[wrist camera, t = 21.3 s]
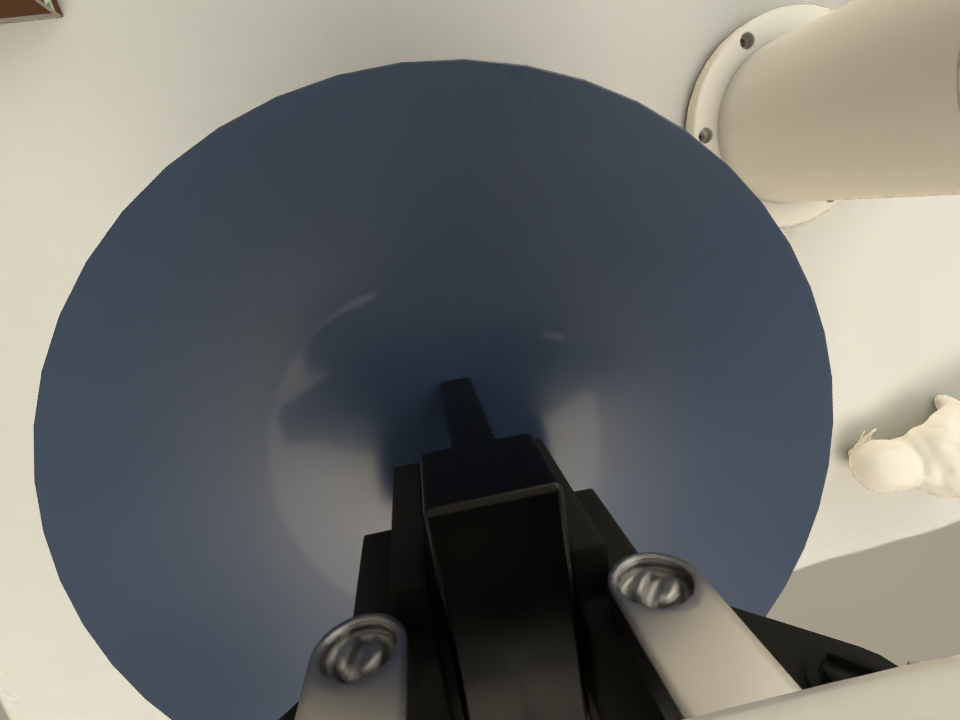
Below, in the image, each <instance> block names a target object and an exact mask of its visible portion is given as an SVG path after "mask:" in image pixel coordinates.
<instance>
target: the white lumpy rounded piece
mask: <svg viewBox="0 0 960 720" xmlns="http://www.w3.org/2000/svg"><path fill="white" fill-rule="evenodd" d="M934 404H935V406H936V408H937V409H938V410H937V411H936V412H934V413H933V414H932V415H931V416H930V417H929V418H928V419H927V420H926V422H924V423H923V424H922V425H919V426H916V427H913V428H912V429H910V430H909V431H908V432H907V433H906V434H905V435H904V436H901V437H897V438H894V439H891V440H886V439H884V440H872V439H871V440H869V439H870V437H871V436H872V435H871V434H873V433H874V432H875V431H876V430H877V429H876V428H875V429H874V430H873V431H871V432H870V433H868V434H867V435H866V436H864V437H863V435H864V433H865V430H866V429H865V430H864V432H863V433H862V435H861V436H860V438H859V440H858V443H857V444H856V445H855V446H854V447H853V448H852V449H850V450H849V451H848V456H849V469H850V471H851V474H852V476H853V477H854V478H855V479H856V480H857V481H858V482H859V483H860V484H862V485H863V486H864V487H866V488H868V489H870V490H872V491H875V492H880V493H891V492H899V491H903V490H908V489H912V488H916V489H919V490H922V491H924V492H927V493H929V494H931V495H933V496H936V497H940V498H955V497H959V498H960V401H959V400H957V399H954V398H953V397H950V396H948V395H937V396H936V397H935V398H934ZM879 433H880V432H879ZM870 435H871V436H870ZM876 435H877V434H876ZM862 437H863V438H862ZM871 438H872V437H871ZM875 438H876V437H875Z"/></svg>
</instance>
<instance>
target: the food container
mask: <svg viewBox="0 0 960 720" xmlns="http://www.w3.org/2000/svg"><path fill="white" fill-rule="evenodd" d="M59 17H63V15H62V13H61V10H60V8H59V5H58V3H57V0H0V24H3V23H13V22H22V21H31V20H41V19H50V18H59Z"/></svg>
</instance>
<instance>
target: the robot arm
mask: <svg viewBox="0 0 960 720" xmlns="http://www.w3.org/2000/svg"><path fill="white" fill-rule="evenodd" d="M740 43H741V45H740ZM686 131H687V132H689V133H690V134H691V135H692V136H694V137H695V138H696V139H697V140H698V141H700V142H701V143H702V144H703V145H705V146H706V147H707V148H708V149H709V150H711V151H712V152H713V153H714V154H715V155H717V156H718V157H719V158H720V159H722V160H723V161H724V162H725V163H726V164H728V165H729V166H730V168H731V169H732V170H733V171H734V172H735V173H736V174H737V175H738V176H739V177H740V179H741V180H742V181H743V182H744V183H745V184H746V185H747V186H748V187H749V189H750V190H751V191H752V192H753V193H754V194H755V195H756V196H757V197H758V199H759V200H760V201H761V202H762V203H763V204H764V206H765V207H766V209H767V210H768V212H769V213H770V215H771V216H772V218H773V219H774V221H775V222H776V224H777V225H778V227H779V228H783V227H789V226H794V225H799V224H802V223H804V222H807V221H809V220H812V219H814V218H816V217H818V216H820V215H821V214H823V213H824V212H826V211H828V210H829V209H831V208H832V207H833V206H835V205H836V204H837V203H838V202H839V201H840V200H849V199H871V198H894V197H916V196H939V195H960V0H853V1H851V2H849V3H847V4H845V5H843V6H841V7H839V8H836V9H834V10H830V9H828V8H823V7H819V6H814V5H788V6H785V7H781V8H777V9H773V10H770V11H768V12H766V13H764V14H762V15H760V16H758V17H756V18H754V19H752V20H751V21H749V22H747V23H746V24H744V25H743V26H741V27H740V28H738V29H737V30H735V31H734V32H733V33H732V34H731V35H730V36H729V37H728V38H727V39H725V40H724V41H723V42H722V43H721V44H720V45H719V46H718V48H717V49H716V50H715V52H714V53H713V54H712V56H711V57H710V58H709V60H708V61H707V62H706V64H705V66H704V68H703V70H702V72H701V74H700V76H699V77H698V79H697V81H696V84H695V87H694V90H693V93H692V96H691V99H690V102H689V107H688V113H687V120H686ZM699 134H700V135H701V140H699ZM535 442H536V444H537V445H538V447H539V449H540V450H541V452H542V454H543V455H544V457H545V459H546V460H547V462H548V464H549V465H550V467H551V469H552V470H553V472H554V474H555V475H556V477H557V479H558V480H559V482H560V484H561V485H562V487H563V496H564V504H565V513H566V522H567V530H568V539H569V547H570V556H571V564H572V573H573V581H574V590H575V599H576V607H577V616H578V624H579V633H580V641H581V650H582V659H583V667H584V676H585V684H586V693H587V701H588V710H589V719H590V720H960V654H959V655H954V656H949V657H944V658H939V659H934V660H928V661H923V662H915V661H908V665H904V666H900V667H898V666H897V665H895V664H893V663H892V662H890V661H888V660H887V659H885V658H884V657H882V656H880V655H878V654H876V653H874V652H871V651H869V650H866V649H864V648H861V647H859V646H856V645H852V644H849V643H846V642H843V641H840V640H837V639H833V638H830V637H827V636H824V635H821V634H817V633H814V632H811V631H808V630H805V629H802V628H798V627H795V626H792V625H788V624H785V623H782V622H779V621H776V620H773V619H770V618H766V617H763V616H760V615H757V614H754V613H751V612H747V611H744V610H741V609H738V608H735V607H731V606H729V605H728V604H727V603H726V602H725V601H724V600H723V598H722V597H721V596H720V595H719V594H718V593H717V592H716V590H715V589H714V588H713V587H712V586H711V585H710V584H709V582H708V581H707V580H706V579H705V578H704V577H703V576H702V574H701V573H700V572H699V571H698V570H697V569H696V568H694V567H693V566H692V565H691V564H690V563H688V562H686V561H684V560H682V559H680V558H678V557H676V556H672V555H669V554H665V553H657V552H643V553H638V552H637V551H636V549H635V548H634V547H633V545H632V544H631V542H630V541H629V539H628V538H627V537H626V535H625V534H624V532H623V531H622V530H621V528H620V527H619V525H618V524H617V522H616V521H615V520H614V518H613V517H612V515H611V514H610V512H609V511H608V510H607V508H606V507H605V505H604V504H603V503H602V501H601V500H600V498H599V497H598V495H597V494H596V493H595V491H594V490H593V489H590V488H589V489H584V490H579V491H575V492H574V491H573V489H572V488H571V486H570V484H569V483H568V481H567V480H566V478H565V476H564V475H563V473H562V472H561V470H560V468H559V467H558V465H557V464H556V462H555V461H554V459H553V457H552V456H551V454H550V453H549V451H548V449H547V448H546V446H545V445H544V443H543V441H542V440H541V439H535ZM279 720H464V715H463V710H462V705H461V700H460V695H459V690H458V685H457V680H456V675H455V670H454V665H453V660H452V655H451V650H450V645H449V640H448V635H447V630H446V625H445V620H444V615H443V610H442V605H441V600H440V595H439V590H438V585H437V580H436V575H435V570H434V565H433V560H432V555H431V550H430V545H429V540H428V535H427V530H426V525H425V520H424V514H423V499H422V484H421V468H420V463H413V464H408V465H403V466H398V467H394V481H393V504H392V526H391V530H388V531H383V532H378V533H373V534H368V535H365V536H364V539H363V545H362V553H361V560H360V568H359V576H358V583H357V591H356V599H355V606H354V614H353V617H352V618H349V619H347V620H345V621H343V622H342V623H340V624H338V625H336V626H335V627H333V628H332V629H331V630H330V631H329V632H327V633H326V634H325V635H324V636H323V637H322V638H321V639H320V641H319V642H318V643H317V644H316V646H315V647H314V649H313V651H312V654H311V656H310V658H309V661H308V665H307V670H306V674H305V678H304V682H303V686H302V690H301V695H300V699H299V701H298V702H297V703H296V704H295V705H294V706H293V707H292V708H291V709H290V710H288V711H287V712H286V713H285V714H284V715H283V716H282V717H281V718H280V719H279Z"/></svg>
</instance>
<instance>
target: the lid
mask: <svg viewBox="0 0 960 720" xmlns="http://www.w3.org/2000/svg"><path fill="white" fill-rule="evenodd" d="M832 428H833V401H832V375H831V369H830V363H829V357H828V351H827V344H826V338H825V332H824V329H823V326H822V323H821V319H820V316H819V313H818V310H817V306H816V303H815V300H814V297H813V293H812V290H811V287H810V285H809V283H808V281H807V279H806V277H805V275H804V273H803V270H802V268H801V266H800V264H799V262H798V260H797V258H796V256H795V254H794V251H793V249H792V247H791V245H790V243H789V242H788V240H787V239H786V237H785V236H784V234H783V233H782V231H781V230H780V228H779V227H778V225H777V224H776V222H775V221H774V219H773V218H772V216H771V215H770V213H769V212H768V210H767V209H766V207H765V206H764V204H763V203H762V202H761V201H760V200H759V199H758V197H757V196H756V195H755V194H754V193H753V192H752V191H751V190H750V189H749V187H748V186H747V185H746V184H745V183H744V182H743V181H742V180H741V179H740V177H739V176H738V175H737V174H736V173H735V172H734V171H733V170H732V169H731V168H730V166H729V165H728V164H726V163H725V162H724V161H723V160H722V159H720V158H719V157H718V156H717V155H715V154H714V153H713V152H712V151H711V150H709V149H708V148H707V147H706V146H705V145H703V144H702V143H701V142H700V141H698V140H697V139H696V138H695V137H694V136H692V135H691V134H690V133H689V132H687V131H686V130H685V129H683V128H681V127H680V126H678V125H676V124H675V123H673V122H671V121H670V120H668V119H666V118H665V117H663V116H661V115H660V114H658V113H656V112H655V111H653V110H651V109H649V108H648V107H646V106H644V105H643V104H641V103H639V102H638V101H635V100H633V99H630V98H628V97H626V96H623V95H621V94H618V93H616V92H613V91H611V90H608V89H606V88H604V87H601V86H599V85H596V84H594V83H591V82H589V81H587V80H584V79H580V78H576V77H572V76H568V75H564V74H560V73H556V72H552V71H548V70H544V69H540V68H536V67H532V66H528V65H520V64H509V63H499V62H488V61H478V60H467V59H458V60H438V61H418V62H400V63H395V64H390V65H385V66H380V67H375V68H370V69H365V70H360V71H355V72H350V73H345V74H340V75H336V76H333V77H330V78H328V79H325V80H322V81H319V82H316V83H314V84H311V85H308V86H305V87H302V88H300V89H297V90H294V91H291V92H288V93H286V94H283V95H280V96H277V97H275V98H273V99H271V100H269V101H268V102H266V103H264V104H262V105H260V106H258V107H256V108H254V109H253V110H251V111H249V112H247V113H245V114H243V115H241V116H239V117H238V118H236V119H234V120H232V121H230V122H228V123H226V124H225V125H223V126H221V127H219V128H217V129H216V130H215V131H213V132H212V133H211V134H209V135H208V136H207V137H205V138H204V139H203V140H201V141H200V142H199V143H197V144H196V145H195V146H193V147H192V148H191V149H189V150H188V151H187V152H185V153H184V154H183V155H181V156H180V157H179V158H177V159H176V160H175V161H173V162H172V163H171V164H169V165H168V166H167V167H166V168H165V169H164V170H163V171H162V172H161V173H160V174H159V175H158V176H157V177H156V178H155V179H154V180H153V181H152V182H151V183H150V184H149V185H148V186H147V187H146V188H145V189H144V190H143V191H142V192H141V193H140V194H139V195H138V196H137V197H136V198H135V199H134V200H133V201H132V202H131V203H130V204H129V205H128V206H127V207H126V208H125V209H124V210H123V211H122V213H121V214H120V216H119V217H118V218H117V220H116V221H115V223H114V224H113V225H112V227H111V228H110V230H109V231H108V232H107V234H106V235H105V236H104V238H103V239H102V241H101V242H100V243H99V245H98V246H97V248H96V249H95V250H94V252H93V253H92V255H91V256H90V257H89V259H88V260H87V262H86V264H85V266H84V268H83V269H82V271H81V273H80V275H79V277H78V279H77V281H76V283H75V285H74V287H73V289H72V291H71V293H70V295H69V297H68V299H67V301H66V303H65V305H64V307H63V309H62V311H61V313H60V315H59V318H58V321H57V325H56V328H55V331H54V334H53V337H52V340H51V344H50V347H49V350H48V353H47V356H46V359H45V363H44V366H43V369H42V373H41V380H40V387H39V394H38V401H37V408H36V414H35V421H34V476H35V486H36V492H37V497H38V503H39V509H40V514H41V520H42V526H43V531H44V535H45V538H46V541H47V544H48V547H49V549H50V552H51V555H52V558H53V561H54V564H55V567H56V570H57V573H58V576H59V579H60V581H61V583H62V585H63V587H64V589H65V591H66V593H67V595H68V597H69V598H70V600H71V602H72V604H73V606H74V608H75V610H76V612H77V614H78V616H79V618H80V619H81V621H82V623H83V625H84V627H85V628H86V629H87V631H88V632H89V633H90V635H91V636H92V638H93V639H94V640H95V642H96V643H97V644H98V646H99V647H100V649H101V650H102V651H103V653H104V654H105V655H106V657H107V658H108V660H109V661H110V662H111V664H112V665H113V666H114V667H115V668H116V669H117V670H118V671H119V672H120V673H121V674H122V675H123V676H124V677H125V678H126V679H127V680H128V682H129V683H130V684H131V685H132V686H133V687H134V688H135V689H136V690H137V691H138V692H139V693H140V694H141V695H142V696H143V697H144V698H145V699H146V700H147V701H149V702H150V703H151V704H152V705H154V706H155V707H156V708H157V709H159V710H160V711H161V712H162V713H164V714H165V715H166V716H167V717H169V718H170V719H171V720H279V719H280V718H281V717H282V716H283V715H284V714H285V713H286V712H287V711H288V710H290V709H291V708H292V707H293V706H294V705H295V704H296V703H297V702H298V701H299V699H300V695H301V690H302V686H303V682H304V678H305V674H306V670H307V665H308V661H309V658H310V656H311V654H312V651H313V649H314V647H315V646H316V644H317V643H318V642H319V641H320V639H321V638H322V637H323V636H324V635H325V634H326V633H327V632H329V631H330V630H331V629H332V628H333V627H335V626H336V625H338V624H340V623H342V622H343V621H345V620H347V619H349V618H352V617H353V614H354V606H355V599H356V591H357V583H358V576H359V568H360V560H361V553H362V545H363V539H364V536H365V535H368V534H373V533H378V532H383V531H388V530H391V526H392V504H393V481H394V467H398V466H403V465H408V464H413V463H420V468H421V484H422V499H423V514H424V520H425V525H426V530H427V535H428V540H429V545H430V550H431V555H432V560H433V565H434V570H435V575H436V580H437V585H438V590H439V595H440V600H441V605H442V610H443V615H444V620H445V625H446V630H447V635H448V640H449V645H450V650H451V655H452V660H453V665H454V670H455V675H456V680H457V685H458V690H459V695H460V700H461V705H462V710H463V715H464V720H590V719H589V710H588V701H587V693H586V684H585V676H584V667H583V659H582V650H581V641H580V633H579V624H578V616H577V607H576V599H575V590H574V581H573V573H572V564H571V556H570V547H569V539H568V530H567V522H566V513H565V504H564V496H563V487H562V485H561V484H560V482H559V480H558V479H557V477H556V475H555V474H554V472H553V470H552V469H551V467H550V465H549V464H548V462H547V460H546V459H545V457H544V455H543V454H542V452H541V450H540V449H539V447H538V445H537V444H536V442H535V439H541V440H542V441H543V443H544V445H545V446H546V448H547V449H548V451H549V453H550V454H551V456H552V457H553V459H554V461H555V462H556V464H557V465H558V467H559V468H560V470H561V472H562V473H563V475H564V476H565V478H566V480H567V481H568V483H569V484H570V486H571V488H572V489H573V491H574V492H575V491H579V490H584V489H589V488H590V489H593V490H594V491H595V493H596V494H597V495H598V497H599V498H600V500H601V501H602V503H603V504H604V505H605V507H606V508H607V510H608V511H609V512H610V514H611V515H612V517H613V518H614V520H615V521H616V522H617V524H618V525H619V527H620V528H621V530H622V531H623V532H624V534H625V535H626V537H627V538H628V539H629V541H630V542H631V544H632V545H633V547H634V548H635V549H636V551H637V552H638V553H643V552H657V553H665V554H669V555H672V556H676V557H678V558H680V559H682V560H684V561H686V562H688V563H690V564H691V565H692V566H693V567H694V568H696V569H697V570H698V571H699V572H700V573H701V574H702V576H703V577H704V578H705V579H706V580H707V581H708V582H709V584H710V585H711V586H712V587H713V588H714V589H715V590H716V592H717V593H718V594H719V595H720V596H721V597H722V598H723V600H724V601H725V602H726V603H727V604H728V605H729V606H731V607H735V608H738V609H741V610H744V611H747V612H751V613H754V614H757V615H760V616H763V617H766V615H767V614H768V612H769V611H770V609H771V608H772V606H773V604H774V603H775V601H776V599H777V598H778V597H779V595H780V594H781V592H782V591H783V589H784V587H785V586H786V584H787V582H788V580H789V578H790V576H791V574H792V572H793V570H794V568H795V566H796V564H797V562H798V560H799V558H800V556H801V554H802V552H803V550H804V548H805V545H806V542H807V539H808V536H809V534H810V531H811V528H812V525H813V523H814V520H815V517H816V514H817V511H818V509H819V505H820V501H821V496H822V492H823V488H824V483H825V479H826V475H827V470H828V466H829V457H830V447H831V437H832Z"/></svg>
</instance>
